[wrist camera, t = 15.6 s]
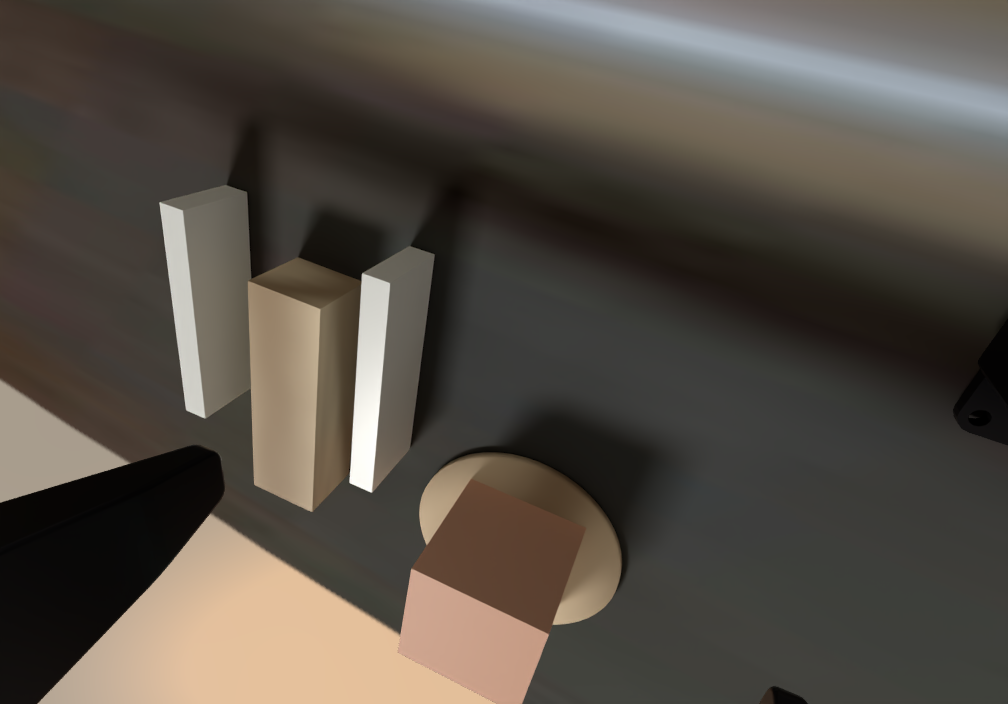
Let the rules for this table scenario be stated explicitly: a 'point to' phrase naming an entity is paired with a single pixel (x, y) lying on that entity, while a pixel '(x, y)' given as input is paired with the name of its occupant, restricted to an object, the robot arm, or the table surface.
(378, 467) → the channel
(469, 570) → the block
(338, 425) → the bar
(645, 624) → the table surface
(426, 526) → the coaster
